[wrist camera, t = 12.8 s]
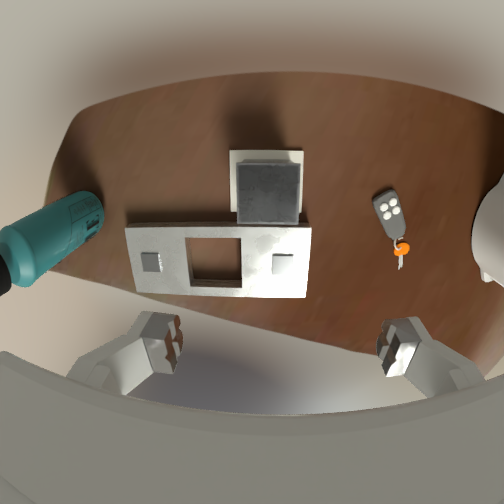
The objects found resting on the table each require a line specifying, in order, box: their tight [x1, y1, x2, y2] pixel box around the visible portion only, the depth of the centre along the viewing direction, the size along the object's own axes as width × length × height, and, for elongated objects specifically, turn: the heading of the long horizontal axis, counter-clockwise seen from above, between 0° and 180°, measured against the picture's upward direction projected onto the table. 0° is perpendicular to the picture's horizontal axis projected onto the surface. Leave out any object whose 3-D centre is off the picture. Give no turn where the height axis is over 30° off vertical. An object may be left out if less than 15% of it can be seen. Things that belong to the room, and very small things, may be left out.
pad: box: [230, 150, 303, 213], centre depth 30 cm, size 8×7×1 cm
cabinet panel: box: [125, 222, 311, 297], centre depth 33 cm, size 22×9×2 cm, turn 90°
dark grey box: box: [236, 159, 301, 225], centre depth 26 cm, size 5×5×7 cm
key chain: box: [372, 190, 409, 269], centre depth 32 cm, size 13×4×2 cm, turn 31°
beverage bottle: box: [0, 191, 104, 296], centre depth 23 cm, size 6×7×20 cm
